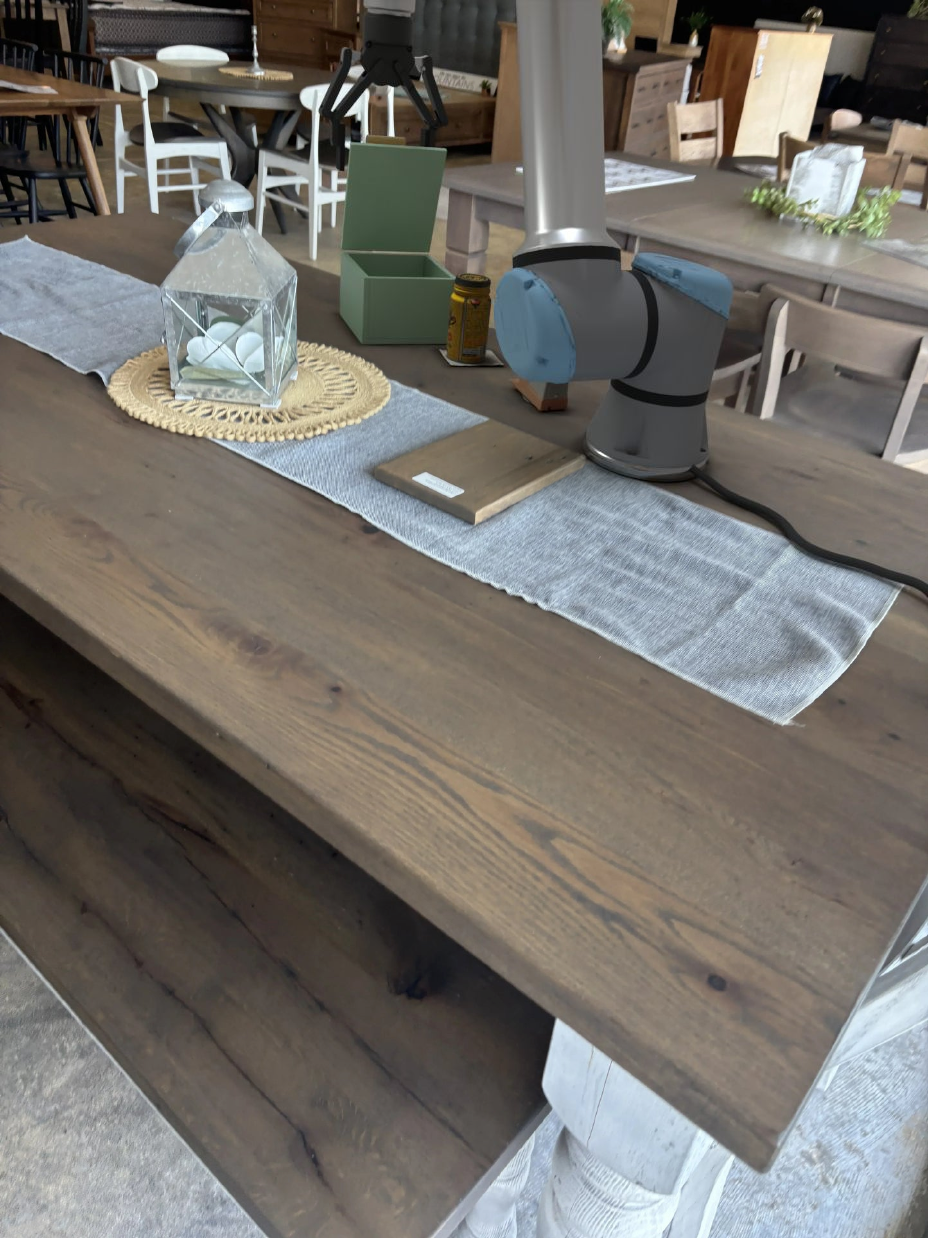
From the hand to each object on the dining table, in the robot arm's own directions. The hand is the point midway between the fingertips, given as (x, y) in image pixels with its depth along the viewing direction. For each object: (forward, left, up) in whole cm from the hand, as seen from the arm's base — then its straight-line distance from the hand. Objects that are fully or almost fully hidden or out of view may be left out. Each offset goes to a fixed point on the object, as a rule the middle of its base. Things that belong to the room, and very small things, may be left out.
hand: (382, 172), depth 145 cm
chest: (-12, 0, -21) cm, 24 cm away
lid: (-7, 0, -3) cm, 8 cm away
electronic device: (-44, -12, -21) cm, 50 cm away
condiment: (-27, -8, -21) cm, 36 cm away
